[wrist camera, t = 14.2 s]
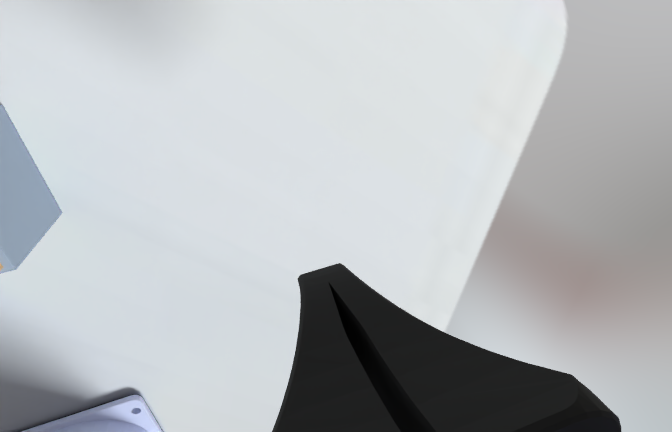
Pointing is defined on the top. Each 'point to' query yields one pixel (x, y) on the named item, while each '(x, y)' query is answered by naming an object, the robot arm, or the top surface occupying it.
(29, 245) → the module block
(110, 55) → the top surface
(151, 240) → the top surface
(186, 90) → the top surface
